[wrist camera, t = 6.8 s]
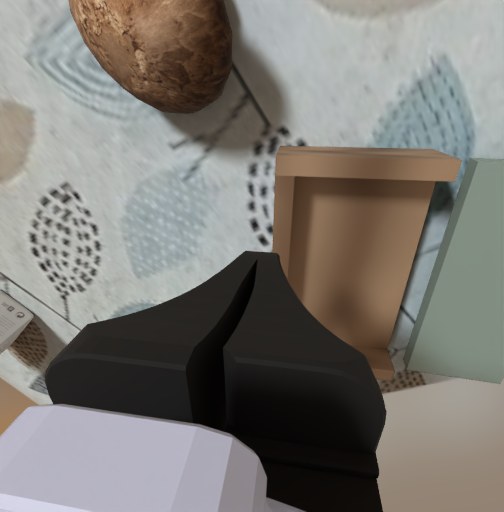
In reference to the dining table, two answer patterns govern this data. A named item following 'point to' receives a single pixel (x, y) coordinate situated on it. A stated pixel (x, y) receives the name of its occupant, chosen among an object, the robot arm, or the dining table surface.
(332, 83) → the dining table surface
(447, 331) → the panel
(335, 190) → the crate
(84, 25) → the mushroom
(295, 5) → the dining table surface
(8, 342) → the skincare box
